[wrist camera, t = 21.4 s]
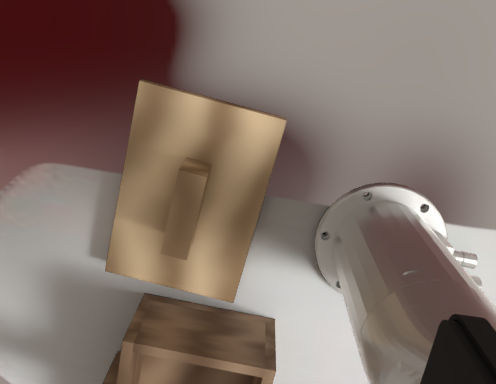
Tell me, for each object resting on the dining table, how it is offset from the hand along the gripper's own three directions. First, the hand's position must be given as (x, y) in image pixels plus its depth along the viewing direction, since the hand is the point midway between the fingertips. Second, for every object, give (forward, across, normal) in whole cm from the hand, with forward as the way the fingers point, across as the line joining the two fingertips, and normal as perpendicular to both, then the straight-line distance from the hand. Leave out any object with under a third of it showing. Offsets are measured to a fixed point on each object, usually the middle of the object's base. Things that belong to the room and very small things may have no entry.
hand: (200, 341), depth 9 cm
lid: (+35, +4, +10) cm, 37 cm away
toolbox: (+35, +2, +32) cm, 48 cm away
